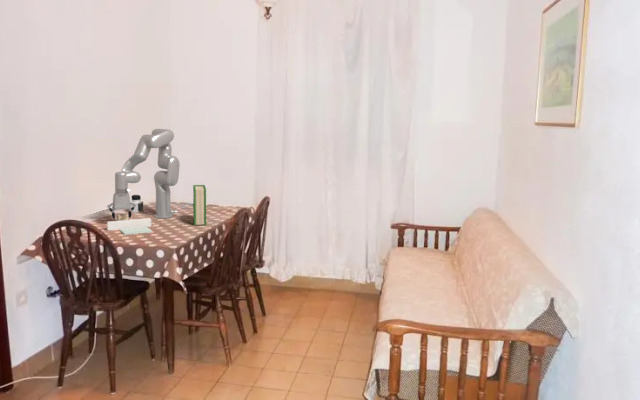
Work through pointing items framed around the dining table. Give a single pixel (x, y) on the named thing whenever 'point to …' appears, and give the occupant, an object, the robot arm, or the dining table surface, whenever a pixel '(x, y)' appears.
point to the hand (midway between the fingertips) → (121, 218)
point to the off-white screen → (128, 224)
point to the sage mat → (135, 230)
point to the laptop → (185, 206)
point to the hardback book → (199, 204)
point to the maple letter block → (122, 217)
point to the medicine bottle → (137, 203)
